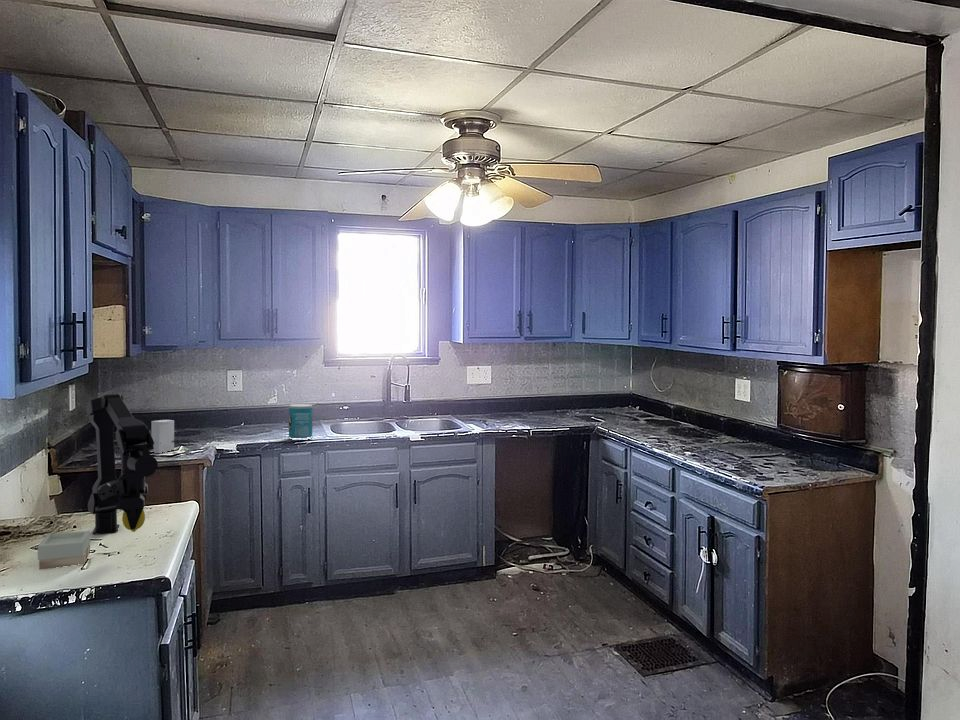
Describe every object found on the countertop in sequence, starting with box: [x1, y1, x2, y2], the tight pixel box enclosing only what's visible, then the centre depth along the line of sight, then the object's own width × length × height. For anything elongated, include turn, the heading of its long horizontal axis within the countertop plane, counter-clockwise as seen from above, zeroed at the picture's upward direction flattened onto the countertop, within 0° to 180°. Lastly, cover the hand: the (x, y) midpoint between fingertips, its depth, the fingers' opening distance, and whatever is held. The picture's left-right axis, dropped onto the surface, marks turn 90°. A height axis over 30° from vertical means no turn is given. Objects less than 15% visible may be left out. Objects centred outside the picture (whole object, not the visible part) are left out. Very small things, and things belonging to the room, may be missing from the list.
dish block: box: [37, 530, 91, 561], centre depth 179 cm, size 10×10×4 cm
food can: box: [288, 403, 313, 438], centre depth 357 cm, size 12×12×18 cm
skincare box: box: [150, 419, 175, 454], centre depth 317 cm, size 8×6×15 cm
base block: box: [38, 543, 91, 570], centre depth 179 cm, size 10×10×3 cm
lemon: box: [121, 509, 146, 533], centre depth 187 cm, size 6×6×8 cm
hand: (133, 525), depth 187 cm, fingers closed on lemon, 5 cm apart
